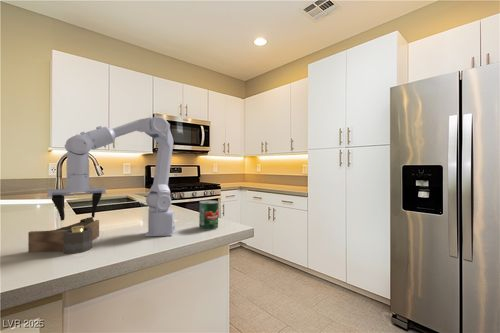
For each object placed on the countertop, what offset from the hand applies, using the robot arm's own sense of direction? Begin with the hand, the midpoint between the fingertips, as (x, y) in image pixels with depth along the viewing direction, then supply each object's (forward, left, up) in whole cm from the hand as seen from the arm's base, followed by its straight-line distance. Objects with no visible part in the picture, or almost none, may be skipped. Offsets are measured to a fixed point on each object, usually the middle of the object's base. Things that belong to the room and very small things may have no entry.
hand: (78, 218), depth 74 cm
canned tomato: (-40, -20, -10) cm, 46 cm away
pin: (0, 0, -10) cm, 10 cm away
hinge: (+5, -5, -10) cm, 12 cm away
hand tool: (+11, -19, -10) cm, 24 cm away
